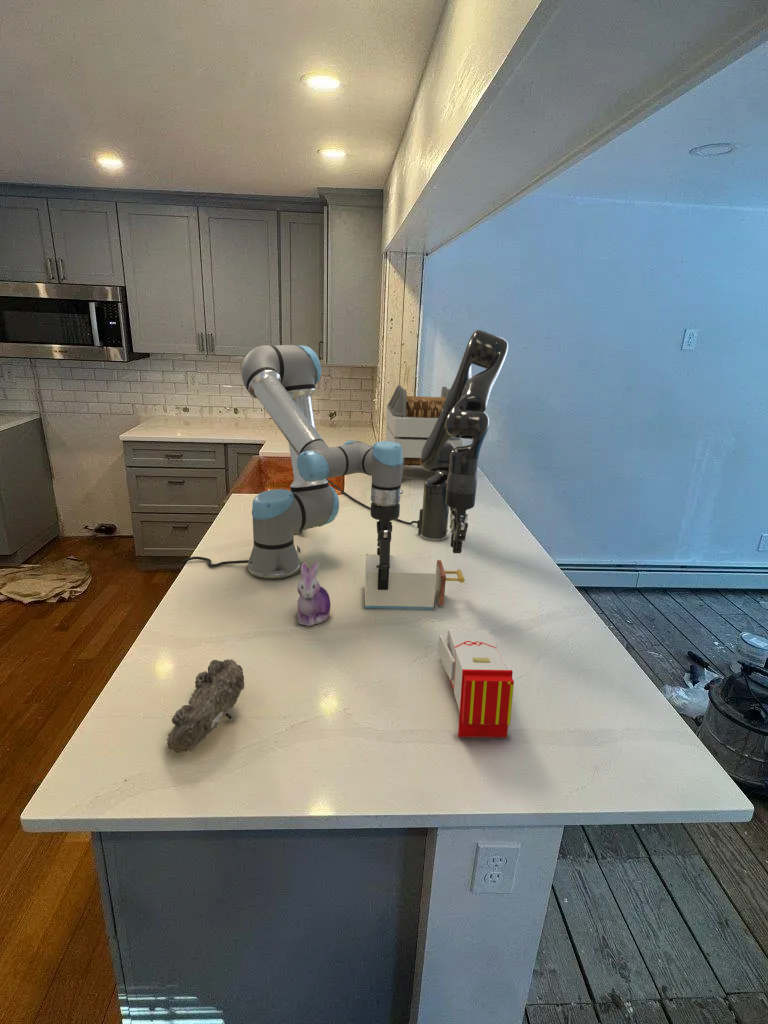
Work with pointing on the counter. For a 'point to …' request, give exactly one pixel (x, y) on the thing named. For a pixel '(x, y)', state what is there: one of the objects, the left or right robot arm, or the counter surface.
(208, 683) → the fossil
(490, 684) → the toy
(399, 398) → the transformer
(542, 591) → the counter surface
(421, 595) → the cabinet
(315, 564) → the figurine
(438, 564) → the drawer
